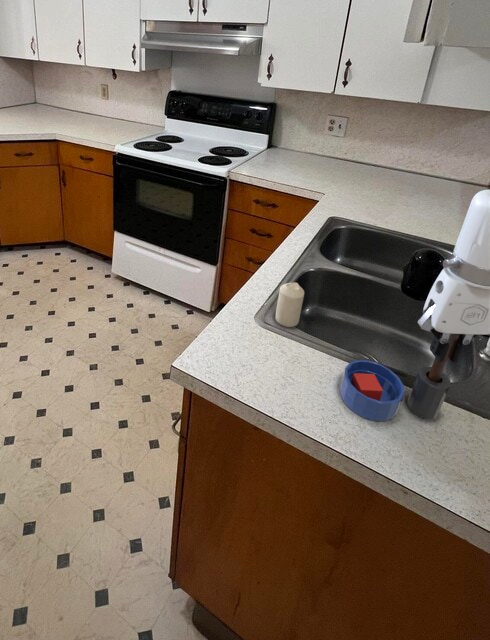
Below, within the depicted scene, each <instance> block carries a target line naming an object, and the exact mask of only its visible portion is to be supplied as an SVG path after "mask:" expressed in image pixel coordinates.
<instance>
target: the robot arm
mask: <svg viewBox="0 0 490 640" xmlns="http://www.w3.org/2000/svg"><path fill="white" fill-rule="evenodd" d="M442 266H443V269H442V270H441V271H440V273H439V274H438V276H437V277H436V279H435V281H434V282H433V284H432V286H431V288H430V290H429V293H428V295H427V298H426V300H425V303H424V306H423V309H422V316H421V317H420V318H419V319H418V320H417V322H416V324H417V325H418V326H419V328H420V329H421V330H422V331H426V332H428V333H432V334H433V338H432V341H431V343H430V345H429V350H430V352H431V353H432V356H433V357H434V359H435V358H436V359H437V360H438V362H443V361H444V359H445V356H446V354H447V351H448V349H449V343H448V339H449V337H450V334H451V333H452V334H460V336H459V338H458V341H457V343H456V345H455V348H454V350H453V352H452V355H451V357H450V360H449V361H451V362H452V363H458V361H459V358H460V356H461V353H462V351H463V349H464V347H465V345H466V346H467V345H469V344H470V343H471V341H472V339H474V338H476V337H477V336H479V335H481V336H482V335H485V336H486V335H490V189H483V190H480V191H478V192H477V193H476V194H474V196H473V197H472V199H471V202H470V204H469V207H468V210H467V212H466V215H465V217H464V221H463V224H462V226H461V229H460V231H459V234H458V238H457V240H456V243H455V245H454V247H453V250H452V253H451V256H450V258H448V259H443V261H442Z"/></svg>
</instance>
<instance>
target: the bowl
mask: <svg viewBox="0 0 490 640" xmlns="http://www.w3.org/2000/svg"><path fill="white" fill-rule="evenodd" d="M353 373H361V374H375V376H376V378H377V380H378V382H379V384H380V386H381V388H382V390H383V393H382V396H381V399H380V401H378V400H375V399H372V398H369V397H367V396H365V395H364V394H362V393H360V392H359V391H358V390H357V389H356V388H355V387H354V386H353V385H352V384H351V380H352V377H353ZM339 392H340V395H341V398H342V401H343V402H344V404H345V405H346V406H347V408H348V409H350V411H352V412H353V413H354V414H356V415H358V416H360V417H361V418H363V419H366V420H369V421H371V422H387V421H389V420H391V419H393V418H395V417H396V416H397V414H398V412H399V410H400V408H401V405H402V402H403V401H404V398H405V397H404V396H405V385H404V383H403V382H402V380H401V379H400V377H399V376H398V375H397V374H396V373H395V372H394V371H393V370H392V369H390V368H389V367H387V366H385V365H383V364H381V363H379V362H376V361H372V360H368V359H357V360H353V361H350V362H349V363H348V364H346V366H345V367H344V371H343V375H342V378H341V381H340V389H339Z"/></svg>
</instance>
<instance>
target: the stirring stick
mask: <svg viewBox="0 0 490 640" xmlns="http://www.w3.org/2000/svg"><path fill="white" fill-rule="evenodd" d="M459 336H460V334H452V333H451V334H450V337H449V339H448V343H449V349H448V351H447V354H446V356H445V359H444V361H443V362H438V360H437V359H436V358H435V357H434V360H433V362H432V365H431V366H430V367H431V370H430V372H429V375H428V379H429V380H431V381H433V382H435V383H439V381H440V378H441V376H442V373H444V372H445V369H446V366H447V363H448V362H450V361H451V360H450V357H451V355H452V352H453V350H454V348H455V345H456V343H457V341H458V338H459Z"/></svg>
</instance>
